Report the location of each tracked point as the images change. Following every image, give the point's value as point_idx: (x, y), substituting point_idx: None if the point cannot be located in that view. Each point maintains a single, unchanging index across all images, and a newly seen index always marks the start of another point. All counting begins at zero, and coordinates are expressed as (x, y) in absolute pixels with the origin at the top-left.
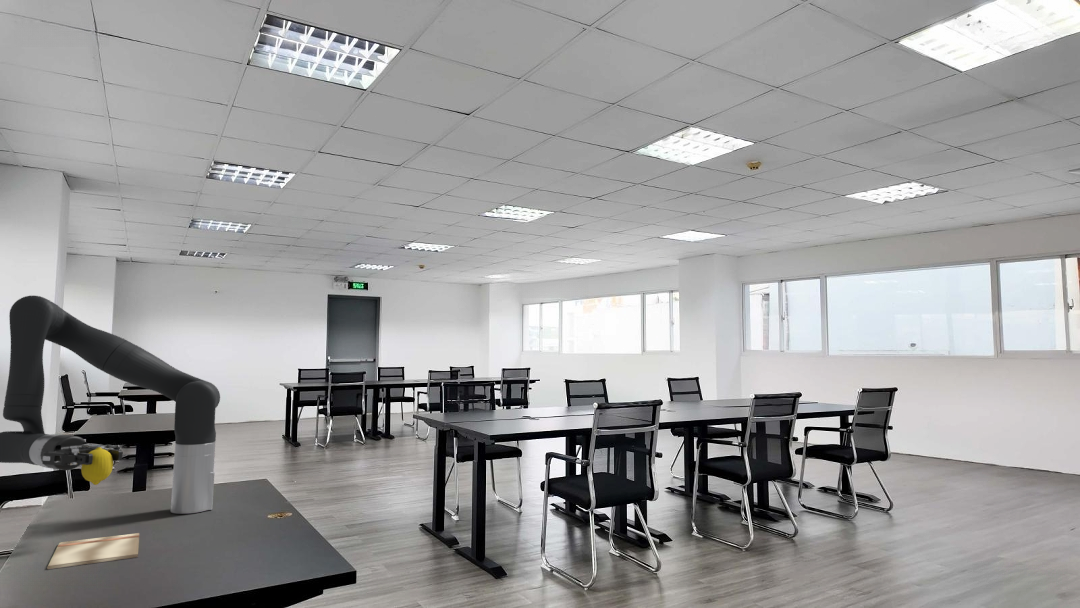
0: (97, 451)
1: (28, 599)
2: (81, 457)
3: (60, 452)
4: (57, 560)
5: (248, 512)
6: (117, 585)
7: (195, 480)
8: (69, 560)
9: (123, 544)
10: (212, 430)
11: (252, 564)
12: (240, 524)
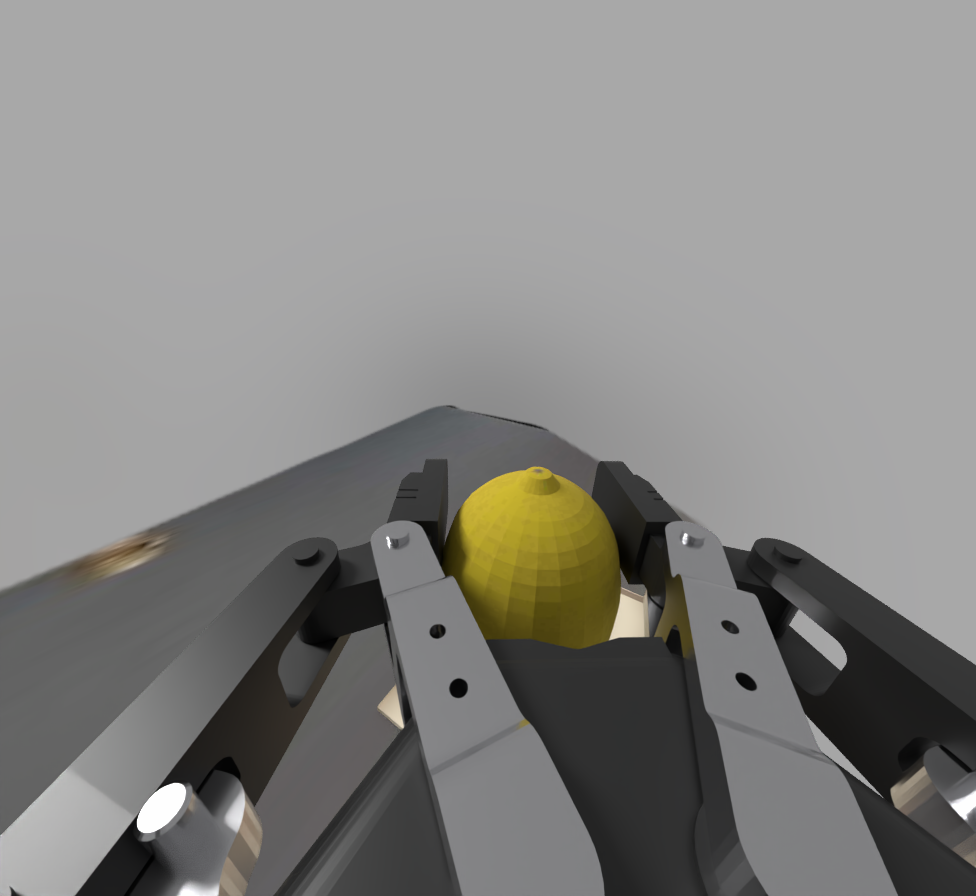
0: (558, 476)
1: (685, 514)
2: (652, 493)
3: (867, 636)
4: (640, 633)
5: (33, 645)
6: (587, 483)
7: None
8: (618, 611)
9: None
10: None
11: (457, 443)
12: (235, 563)
